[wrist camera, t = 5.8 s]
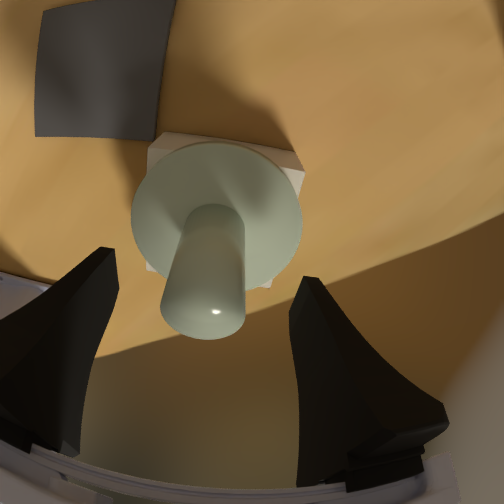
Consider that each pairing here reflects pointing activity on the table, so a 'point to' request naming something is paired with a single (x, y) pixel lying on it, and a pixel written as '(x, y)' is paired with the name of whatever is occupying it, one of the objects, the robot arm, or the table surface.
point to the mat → (101, 69)
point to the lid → (214, 231)
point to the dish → (173, 141)
